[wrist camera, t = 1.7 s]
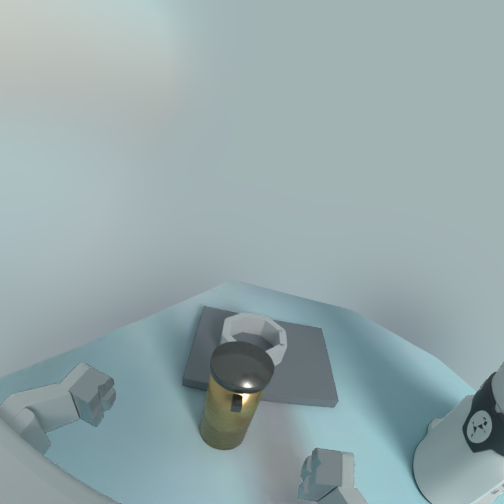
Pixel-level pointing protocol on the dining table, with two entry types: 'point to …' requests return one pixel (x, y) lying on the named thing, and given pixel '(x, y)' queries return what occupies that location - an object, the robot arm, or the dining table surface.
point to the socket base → (287, 375)
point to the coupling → (234, 392)
